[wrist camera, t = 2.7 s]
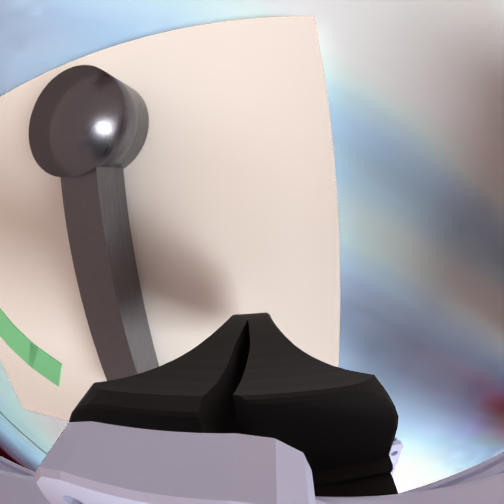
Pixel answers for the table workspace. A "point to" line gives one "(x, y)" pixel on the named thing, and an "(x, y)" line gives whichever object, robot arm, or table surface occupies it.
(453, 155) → the table surface
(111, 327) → the lever
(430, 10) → the table surface
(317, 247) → the dial board
